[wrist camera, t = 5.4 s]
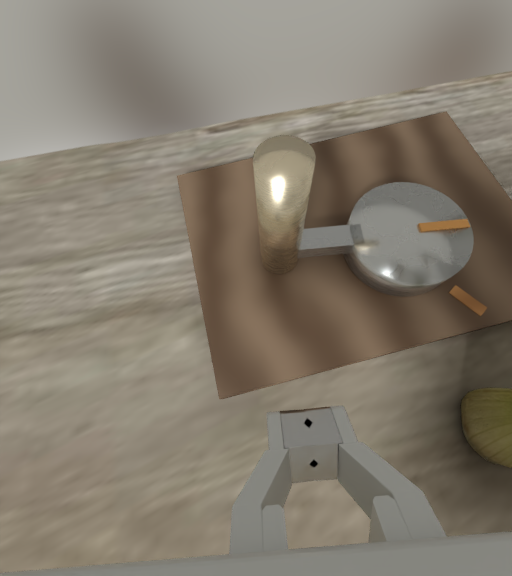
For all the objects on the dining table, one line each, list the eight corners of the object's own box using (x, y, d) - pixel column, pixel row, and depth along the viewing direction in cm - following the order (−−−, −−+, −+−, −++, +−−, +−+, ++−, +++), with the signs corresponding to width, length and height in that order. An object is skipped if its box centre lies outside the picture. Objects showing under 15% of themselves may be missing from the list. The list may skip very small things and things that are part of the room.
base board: (439, 123, 34) (446, 110, 33) (567, 305, 26) (585, 299, 24) (181, 185, 33) (176, 175, 32) (222, 398, 24) (219, 398, 23)
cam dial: (433, 198, 28) (536, 69, 17) (467, 291, 25) (627, 203, 14) (257, 215, 29) (247, 100, 18) (265, 309, 25) (259, 238, 14)
